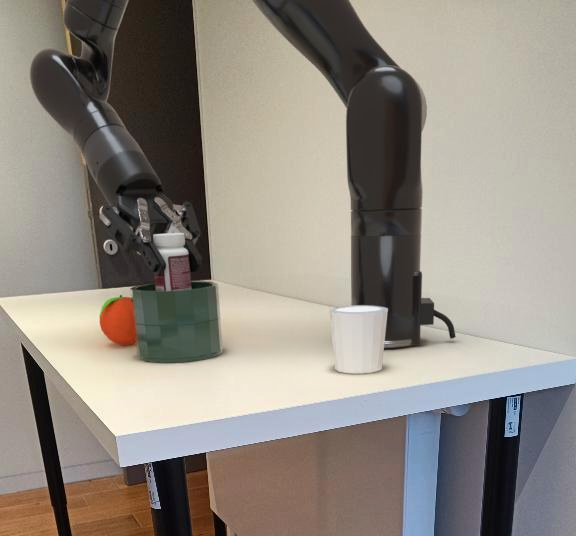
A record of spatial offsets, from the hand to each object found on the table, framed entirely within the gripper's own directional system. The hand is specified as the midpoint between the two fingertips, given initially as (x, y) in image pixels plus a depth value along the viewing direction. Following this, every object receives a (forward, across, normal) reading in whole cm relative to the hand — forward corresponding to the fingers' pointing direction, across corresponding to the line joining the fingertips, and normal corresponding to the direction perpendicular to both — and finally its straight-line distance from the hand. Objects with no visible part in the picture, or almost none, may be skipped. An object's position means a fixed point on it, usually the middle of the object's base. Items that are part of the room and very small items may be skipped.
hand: (179, 269), depth 97 cm
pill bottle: (+2, 0, +4) cm, 5 cm away
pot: (+7, 0, +9) cm, 11 cm away
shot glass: (+25, +8, -9) cm, 28 cm away
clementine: (-2, -1, +18) cm, 18 cm away
